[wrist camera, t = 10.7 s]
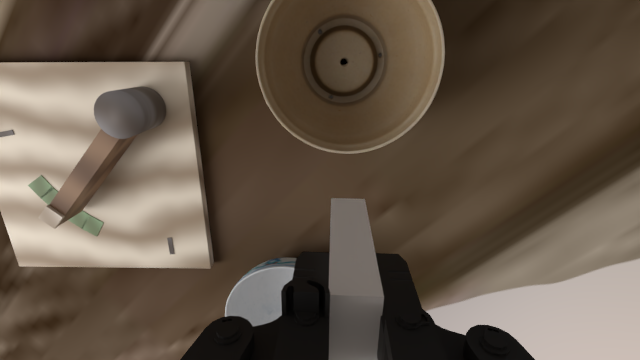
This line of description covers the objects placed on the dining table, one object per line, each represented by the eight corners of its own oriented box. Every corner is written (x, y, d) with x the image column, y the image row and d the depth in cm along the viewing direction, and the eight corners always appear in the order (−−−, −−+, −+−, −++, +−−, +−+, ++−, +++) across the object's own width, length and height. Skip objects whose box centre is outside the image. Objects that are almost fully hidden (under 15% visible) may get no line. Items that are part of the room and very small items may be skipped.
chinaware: (219, 265, 49) (200, 301, 42) (308, 216, 46) (304, 245, 39) (277, 337, 54) (269, 381, 46) (362, 296, 51) (368, 336, 43)
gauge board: (-38, 62, 41) (-52, 62, 39) (189, 61, 40) (183, 61, 39) (28, 260, 50) (18, 266, 48) (214, 262, 49) (210, 268, 48)
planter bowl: (425, 111, 41) (457, 129, 31) (296, 144, 43) (285, 171, 33) (401, -38, 36) (430, -75, 26) (256, 5, 38) (229, -13, 28)
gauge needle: (138, 77, 39) (109, 80, 34) (174, 106, 40) (150, 113, 35) (58, 194, 44) (21, 213, 39) (91, 218, 45) (59, 239, 40)
